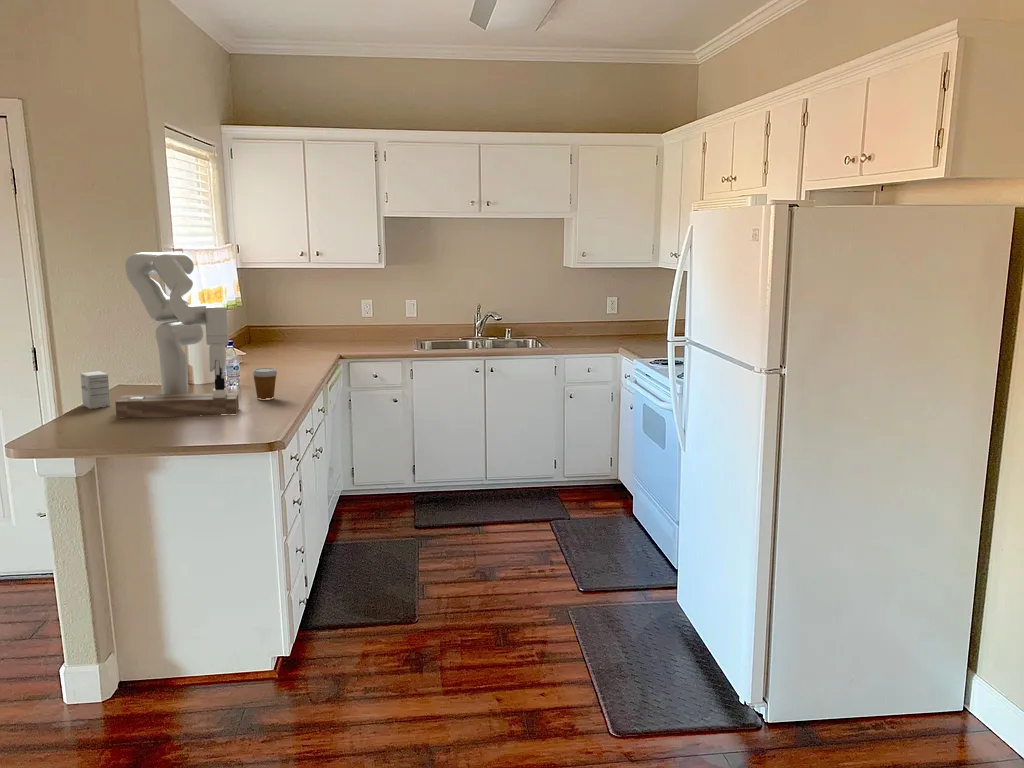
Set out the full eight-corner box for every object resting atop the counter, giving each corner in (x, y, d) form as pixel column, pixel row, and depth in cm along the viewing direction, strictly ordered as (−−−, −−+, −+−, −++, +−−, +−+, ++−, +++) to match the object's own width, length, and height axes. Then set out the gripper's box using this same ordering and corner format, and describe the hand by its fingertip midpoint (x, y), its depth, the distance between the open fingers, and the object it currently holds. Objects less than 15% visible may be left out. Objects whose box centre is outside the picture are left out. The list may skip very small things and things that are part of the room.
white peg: (214, 402, 282) (214, 388, 281) (226, 402, 284) (226, 387, 282) (213, 405, 278) (212, 390, 277) (225, 404, 280) (224, 390, 279)
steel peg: (132, 411, 276) (131, 396, 275) (145, 411, 277) (144, 396, 276) (130, 414, 272) (129, 399, 271) (143, 413, 273) (142, 398, 272)
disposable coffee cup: (270, 402, 301) (269, 372, 299) (248, 400, 303) (247, 370, 300) (282, 397, 310) (281, 368, 308) (260, 395, 312) (260, 367, 310)
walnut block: (123, 411, 278) (122, 395, 277) (238, 408, 289) (238, 392, 288) (116, 418, 268) (115, 401, 267) (236, 414, 278) (235, 399, 277)
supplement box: (82, 405, 285) (79, 372, 282) (103, 403, 290) (101, 370, 288) (89, 409, 280) (86, 375, 277) (110, 406, 285) (108, 373, 283)
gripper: (209, 337, 283) (211, 385, 286) (203, 342, 268) (206, 393, 272) (230, 337, 284) (232, 385, 288) (226, 342, 270) (228, 392, 274)
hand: (220, 389), depth 280 cm, fingers closed
